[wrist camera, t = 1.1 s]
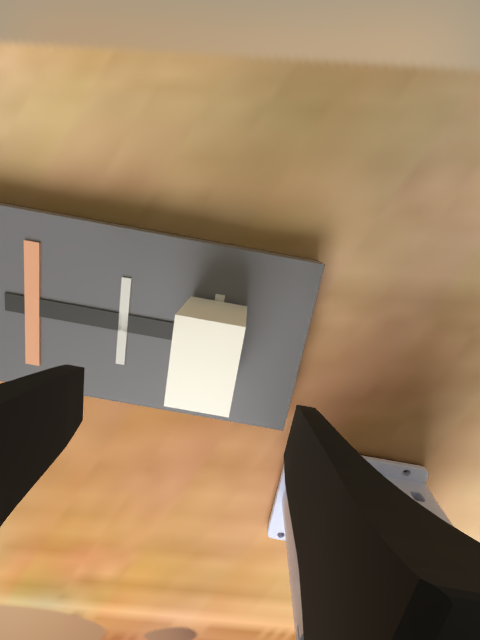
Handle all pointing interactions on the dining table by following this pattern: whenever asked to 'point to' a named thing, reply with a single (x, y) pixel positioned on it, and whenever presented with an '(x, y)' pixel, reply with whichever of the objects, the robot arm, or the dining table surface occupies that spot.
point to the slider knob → (205, 356)
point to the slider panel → (145, 308)
